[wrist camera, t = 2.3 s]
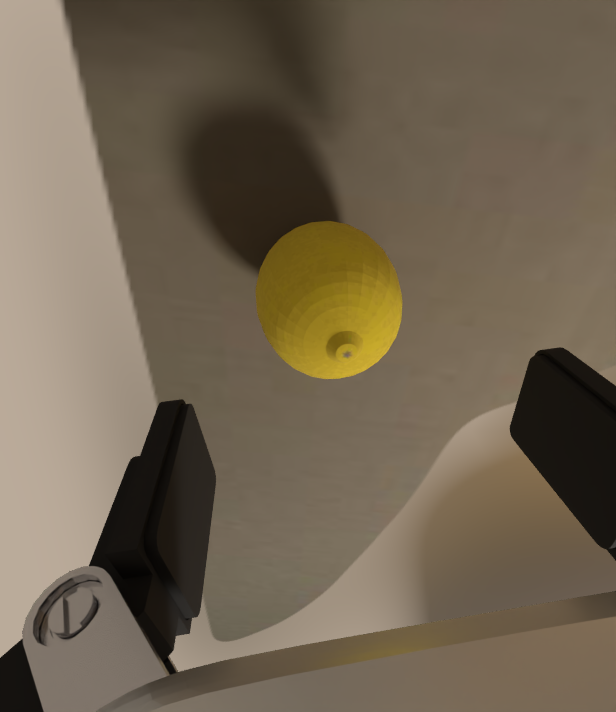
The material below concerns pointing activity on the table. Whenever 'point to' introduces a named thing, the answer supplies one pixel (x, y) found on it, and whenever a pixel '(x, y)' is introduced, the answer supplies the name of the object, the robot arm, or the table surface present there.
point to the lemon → (328, 300)
